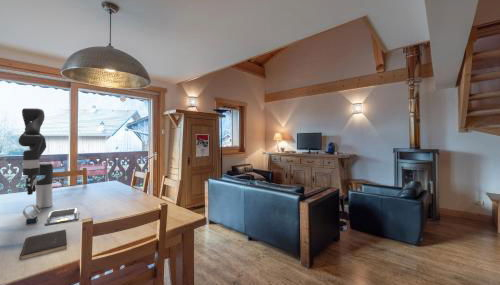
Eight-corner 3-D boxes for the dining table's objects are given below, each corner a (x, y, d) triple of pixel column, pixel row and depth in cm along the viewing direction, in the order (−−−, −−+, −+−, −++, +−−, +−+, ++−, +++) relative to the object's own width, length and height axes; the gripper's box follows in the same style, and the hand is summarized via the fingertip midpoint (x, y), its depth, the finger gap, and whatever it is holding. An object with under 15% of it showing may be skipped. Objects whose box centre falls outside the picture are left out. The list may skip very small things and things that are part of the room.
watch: (40, 222, 139) (39, 205, 139) (22, 225, 134) (21, 207, 134) (41, 219, 143) (41, 202, 143) (24, 222, 139) (24, 204, 138)
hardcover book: (65, 233, 125) (65, 229, 125) (66, 249, 107) (66, 244, 107) (25, 242, 114) (25, 237, 114) (19, 261, 97) (19, 255, 97)
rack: (49, 216, 149) (48, 210, 148) (79, 212, 158) (79, 206, 158) (44, 225, 134) (44, 219, 134) (78, 220, 143) (78, 213, 143)
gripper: (25, 166, 142) (25, 191, 142) (19, 168, 130) (20, 196, 130) (41, 165, 146) (41, 190, 146) (37, 167, 134) (37, 194, 135)
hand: (31, 193), depth 138 cm, fingers open, 8 cm apart
